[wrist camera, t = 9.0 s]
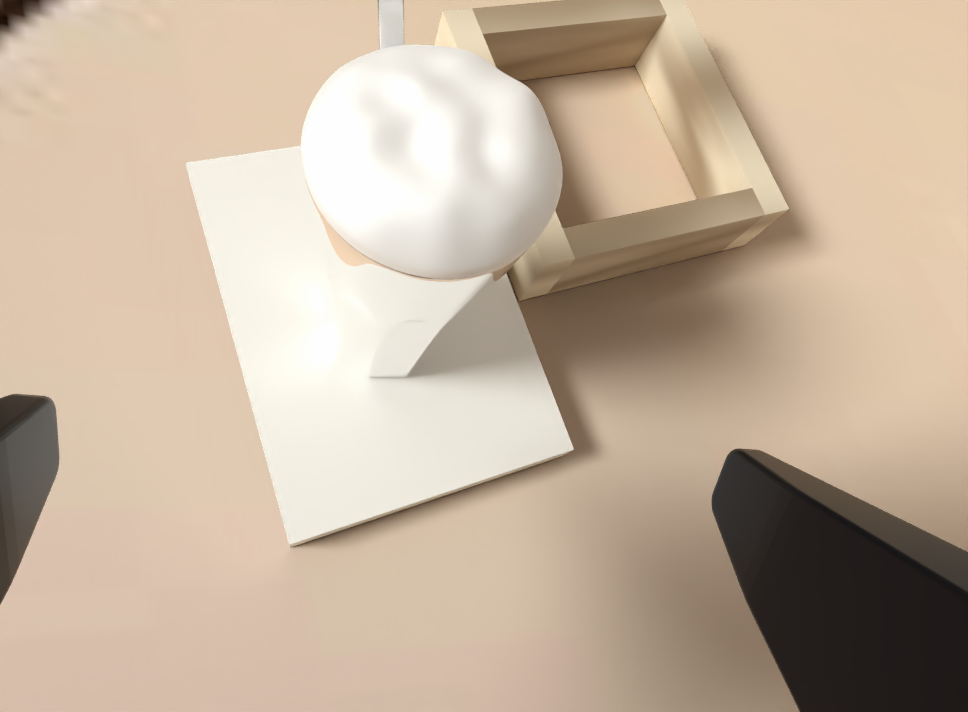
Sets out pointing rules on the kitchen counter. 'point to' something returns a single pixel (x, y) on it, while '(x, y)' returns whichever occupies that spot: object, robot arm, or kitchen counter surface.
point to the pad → (346, 391)
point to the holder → (681, 108)
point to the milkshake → (420, 193)
